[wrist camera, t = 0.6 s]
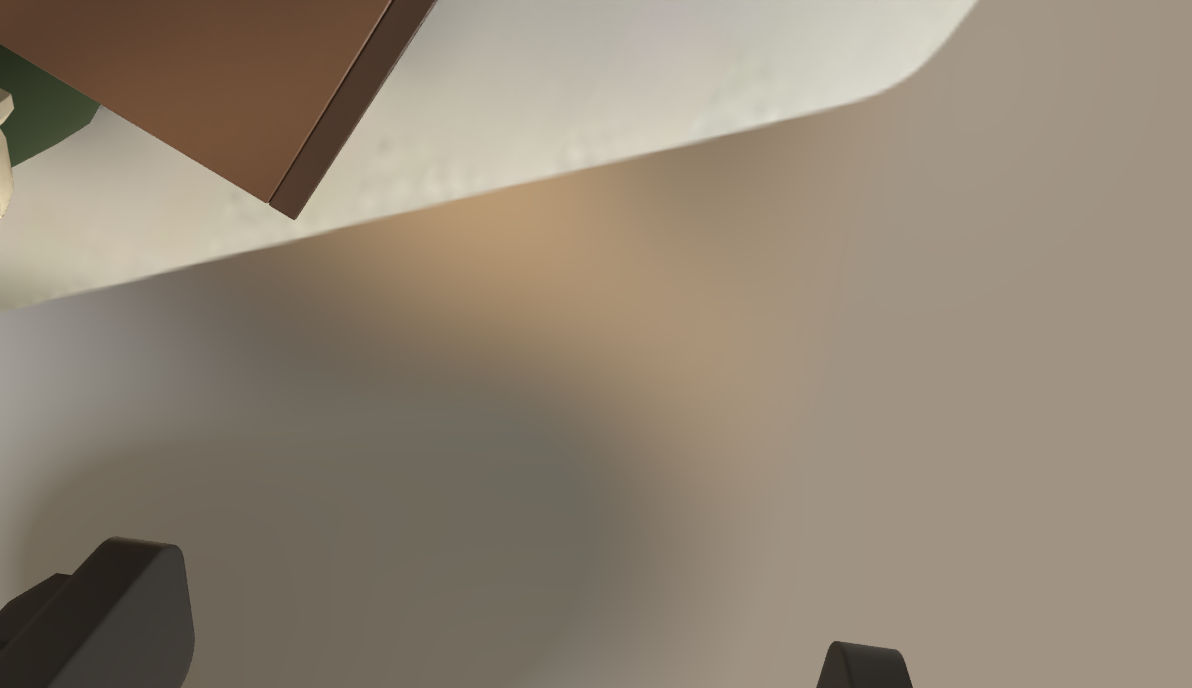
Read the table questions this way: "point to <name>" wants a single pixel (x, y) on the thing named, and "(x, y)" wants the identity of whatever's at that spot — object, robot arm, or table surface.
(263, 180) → the wooden step riser
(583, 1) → the table surface
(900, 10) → the table surface
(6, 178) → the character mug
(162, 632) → the robot arm
